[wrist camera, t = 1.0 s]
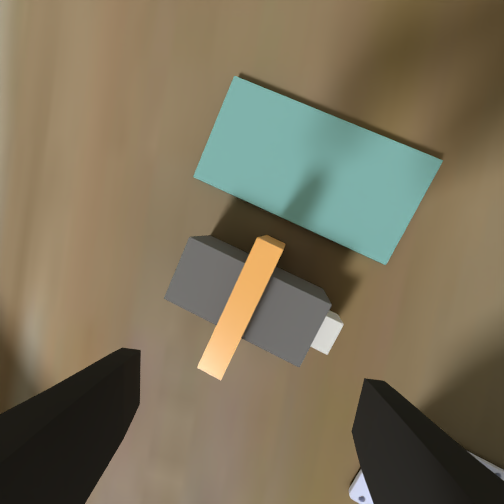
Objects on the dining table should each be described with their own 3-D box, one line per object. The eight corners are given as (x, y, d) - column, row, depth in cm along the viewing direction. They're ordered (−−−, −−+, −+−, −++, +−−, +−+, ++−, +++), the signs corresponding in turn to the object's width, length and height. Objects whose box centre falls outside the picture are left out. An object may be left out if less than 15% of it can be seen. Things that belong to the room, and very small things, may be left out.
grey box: (341, 297, 20) (356, 316, 16) (315, 346, 21) (322, 379, 16) (210, 235, 21) (189, 236, 17) (189, 284, 22) (163, 298, 17)
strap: (285, 243, 20) (283, 249, 14) (240, 338, 21) (220, 380, 15) (266, 234, 20) (257, 237, 14) (223, 329, 21) (197, 367, 15)
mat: (438, 162, 18) (443, 160, 18) (382, 263, 19) (385, 265, 19) (236, 80, 20) (234, 75, 19) (196, 178, 21) (193, 176, 20)
